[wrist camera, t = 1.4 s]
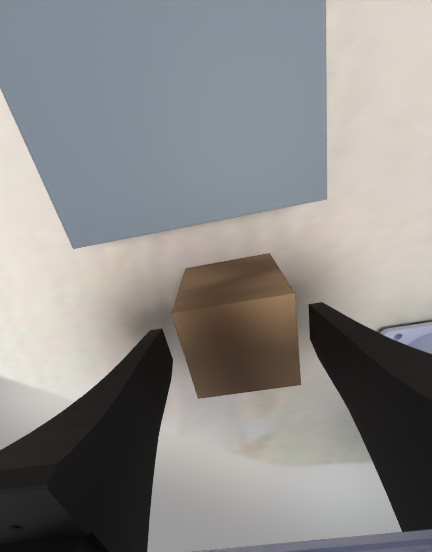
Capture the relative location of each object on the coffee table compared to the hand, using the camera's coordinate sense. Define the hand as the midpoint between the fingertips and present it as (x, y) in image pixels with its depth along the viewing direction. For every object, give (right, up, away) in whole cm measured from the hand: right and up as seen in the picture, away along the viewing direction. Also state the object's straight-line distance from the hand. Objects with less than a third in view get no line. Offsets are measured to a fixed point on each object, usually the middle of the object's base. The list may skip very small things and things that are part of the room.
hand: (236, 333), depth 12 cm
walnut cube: (0, +1, +3) cm, 4 cm away
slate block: (-3, +11, -1) cm, 12 cm away
